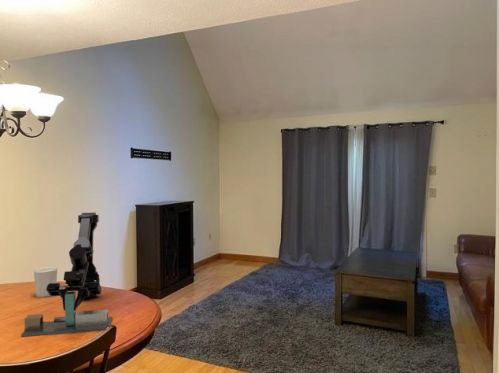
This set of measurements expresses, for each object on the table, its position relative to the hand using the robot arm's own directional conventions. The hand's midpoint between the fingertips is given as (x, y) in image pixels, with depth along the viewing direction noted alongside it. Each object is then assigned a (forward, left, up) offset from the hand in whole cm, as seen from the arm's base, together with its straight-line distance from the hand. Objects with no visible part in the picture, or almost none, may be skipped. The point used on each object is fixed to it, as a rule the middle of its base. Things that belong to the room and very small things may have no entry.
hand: (69, 310), depth 138 cm
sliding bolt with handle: (-4, +1, -6) cm, 7 cm away
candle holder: (-12, -47, -7) cm, 50 cm away
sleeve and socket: (-1, -1, -7) cm, 7 cm away
